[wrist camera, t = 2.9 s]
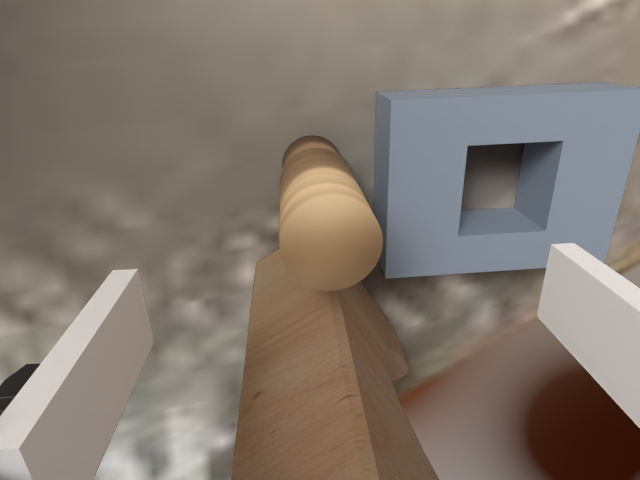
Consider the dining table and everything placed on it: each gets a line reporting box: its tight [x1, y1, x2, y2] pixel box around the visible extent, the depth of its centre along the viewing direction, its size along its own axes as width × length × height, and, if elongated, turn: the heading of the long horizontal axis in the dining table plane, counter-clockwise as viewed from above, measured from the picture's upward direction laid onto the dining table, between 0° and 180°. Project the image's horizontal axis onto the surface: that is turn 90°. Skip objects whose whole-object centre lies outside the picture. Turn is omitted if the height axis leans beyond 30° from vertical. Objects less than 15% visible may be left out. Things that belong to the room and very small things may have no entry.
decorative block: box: [231, 249, 439, 480], centre depth 23 cm, size 11×6×20 cm, turn 31°
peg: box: [279, 136, 383, 291], centre depth 22 cm, size 4×4×12 cm
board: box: [374, 82, 640, 279], centre depth 27 cm, size 10×14×4 cm
